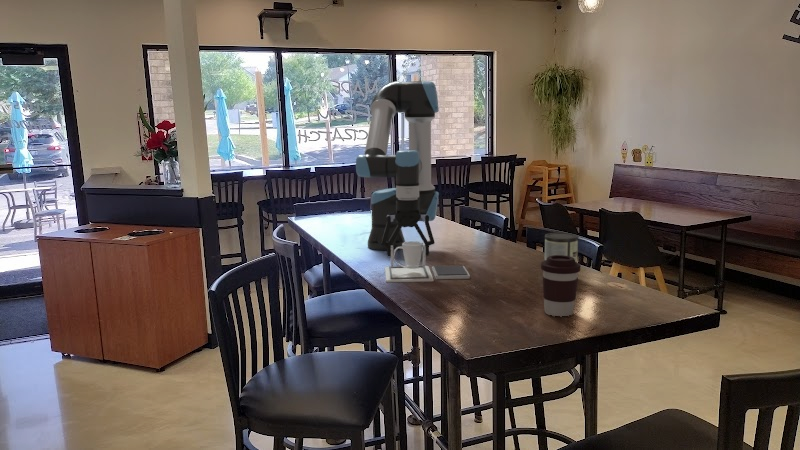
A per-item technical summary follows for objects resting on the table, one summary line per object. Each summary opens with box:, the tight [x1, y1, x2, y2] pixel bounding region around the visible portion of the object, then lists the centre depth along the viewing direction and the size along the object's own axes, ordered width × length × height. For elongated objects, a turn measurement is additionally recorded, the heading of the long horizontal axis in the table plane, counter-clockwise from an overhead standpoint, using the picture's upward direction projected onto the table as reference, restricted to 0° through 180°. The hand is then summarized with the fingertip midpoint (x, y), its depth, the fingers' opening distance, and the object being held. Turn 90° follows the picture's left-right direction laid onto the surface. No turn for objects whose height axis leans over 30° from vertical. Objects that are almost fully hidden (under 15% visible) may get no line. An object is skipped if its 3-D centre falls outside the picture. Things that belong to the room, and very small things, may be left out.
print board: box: [384, 265, 434, 283], centre depth 199 cm, size 18×15×1 cm
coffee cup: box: [540, 255, 581, 318], centre depth 157 cm, size 10×10×15 cm
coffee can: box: [543, 232, 579, 263], centre depth 191 cm, size 10×10×14 cm
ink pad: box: [431, 264, 471, 280], centre depth 199 cm, size 13×11×1 cm
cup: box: [393, 240, 424, 269], centre depth 198 cm, size 7×10×8 cm
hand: (408, 265), depth 198 cm, fingers closed on cup, 10 cm apart
